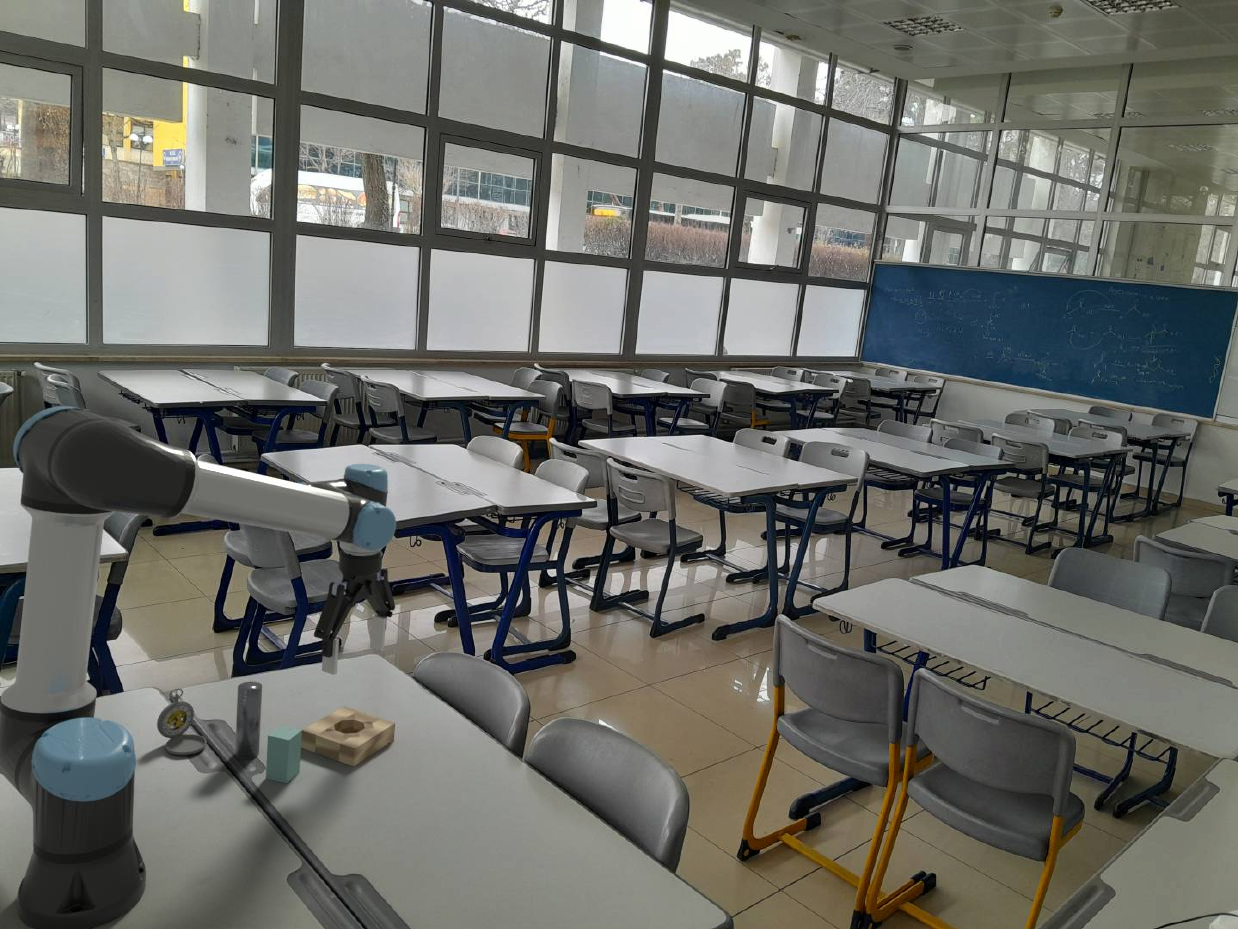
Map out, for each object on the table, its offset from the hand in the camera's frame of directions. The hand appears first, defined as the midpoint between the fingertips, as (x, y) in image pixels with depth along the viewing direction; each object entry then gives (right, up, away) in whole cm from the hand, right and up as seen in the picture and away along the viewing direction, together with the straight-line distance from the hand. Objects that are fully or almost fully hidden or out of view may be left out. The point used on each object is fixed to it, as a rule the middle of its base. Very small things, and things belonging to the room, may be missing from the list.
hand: (353, 660), depth 171 cm
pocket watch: (-30, -15, -4) cm, 33 cm away
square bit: (-10, -18, -10) cm, 23 cm away
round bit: (-18, -16, -5) cm, 24 cm away
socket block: (-2, -16, +3) cm, 17 cm away
